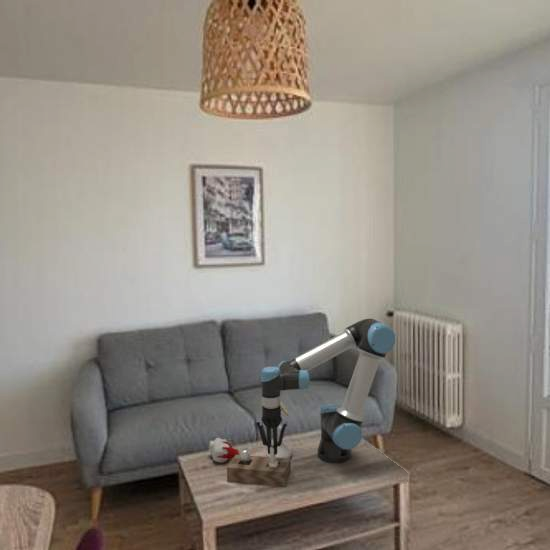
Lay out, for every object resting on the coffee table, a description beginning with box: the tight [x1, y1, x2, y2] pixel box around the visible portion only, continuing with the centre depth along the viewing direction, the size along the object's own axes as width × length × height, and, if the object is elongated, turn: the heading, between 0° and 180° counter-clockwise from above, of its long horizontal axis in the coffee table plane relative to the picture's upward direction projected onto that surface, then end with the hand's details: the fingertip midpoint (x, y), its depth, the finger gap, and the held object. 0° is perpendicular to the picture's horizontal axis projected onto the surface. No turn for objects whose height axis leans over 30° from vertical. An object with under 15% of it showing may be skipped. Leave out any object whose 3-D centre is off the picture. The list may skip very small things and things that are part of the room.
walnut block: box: [226, 454, 292, 488], centre depth 207 cm, size 24×12×6 cm, turn 77°
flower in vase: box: [266, 402, 293, 459], centre depth 224 cm, size 13×11×25 cm
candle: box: [208, 437, 240, 464], centre depth 223 cm, size 9×11×15 cm
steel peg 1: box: [239, 447, 251, 465], centre depth 208 cm, size 4×4×6 cm
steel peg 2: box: [268, 460, 278, 467], centre depth 205 cm, size 4×4×6 cm
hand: (272, 461), depth 205 cm, fingers closed
